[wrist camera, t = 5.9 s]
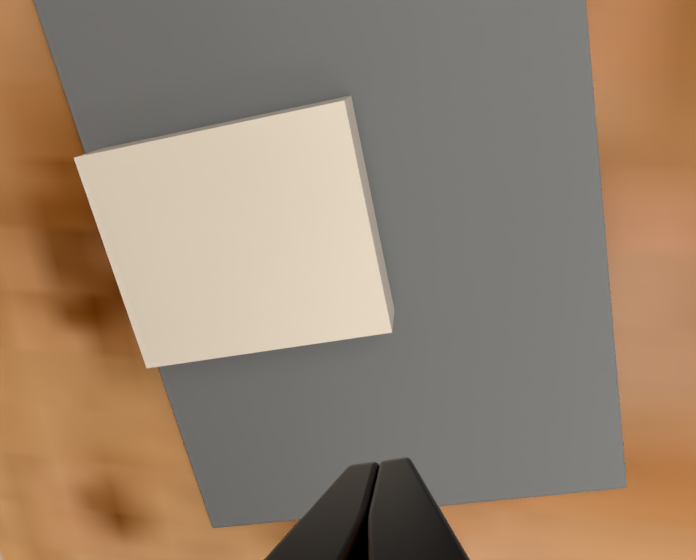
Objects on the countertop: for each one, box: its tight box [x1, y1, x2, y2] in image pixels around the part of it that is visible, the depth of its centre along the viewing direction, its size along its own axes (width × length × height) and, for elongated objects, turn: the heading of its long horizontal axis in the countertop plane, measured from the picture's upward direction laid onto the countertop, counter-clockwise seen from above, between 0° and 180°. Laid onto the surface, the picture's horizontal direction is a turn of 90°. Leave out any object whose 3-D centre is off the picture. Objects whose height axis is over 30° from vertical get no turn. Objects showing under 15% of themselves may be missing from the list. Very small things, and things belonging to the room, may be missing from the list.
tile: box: [74, 95, 394, 368], centre depth 17 cm, size 6×2×7 cm
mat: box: [33, 0, 627, 528], centre depth 18 cm, size 18×14×1 cm
